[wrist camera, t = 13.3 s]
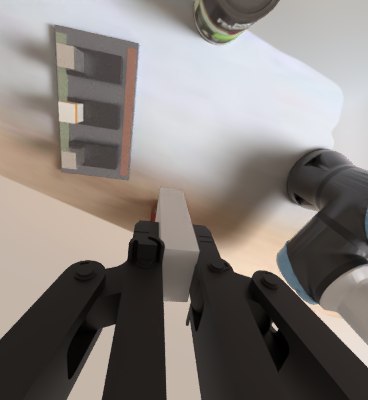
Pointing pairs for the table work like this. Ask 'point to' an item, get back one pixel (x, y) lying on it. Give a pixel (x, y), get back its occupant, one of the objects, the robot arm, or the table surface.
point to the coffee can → (228, 17)
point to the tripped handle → (70, 112)
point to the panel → (98, 95)
